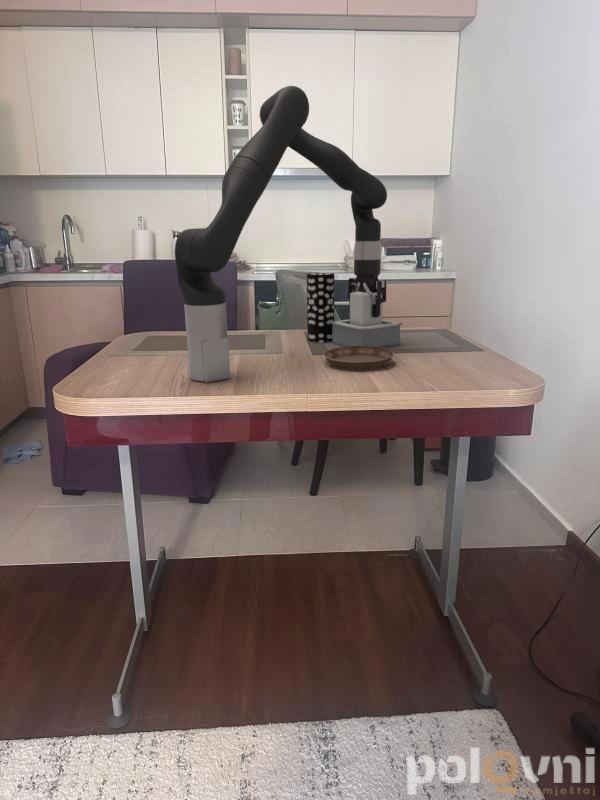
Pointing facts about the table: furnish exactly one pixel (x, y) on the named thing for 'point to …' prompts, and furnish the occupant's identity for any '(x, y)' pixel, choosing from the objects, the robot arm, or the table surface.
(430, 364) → the table surface
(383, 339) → the bin
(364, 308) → the skincare box
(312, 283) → the white-spotted black cylinder
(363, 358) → the plant saucer
